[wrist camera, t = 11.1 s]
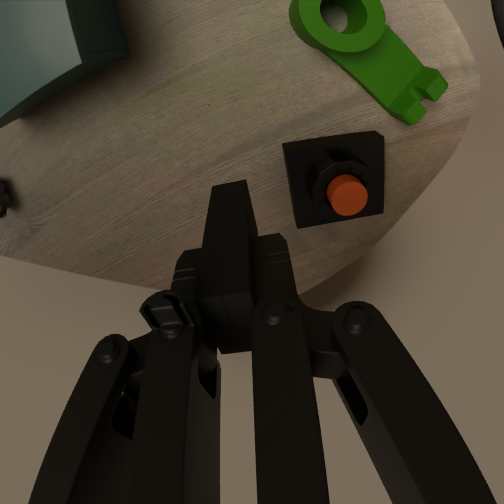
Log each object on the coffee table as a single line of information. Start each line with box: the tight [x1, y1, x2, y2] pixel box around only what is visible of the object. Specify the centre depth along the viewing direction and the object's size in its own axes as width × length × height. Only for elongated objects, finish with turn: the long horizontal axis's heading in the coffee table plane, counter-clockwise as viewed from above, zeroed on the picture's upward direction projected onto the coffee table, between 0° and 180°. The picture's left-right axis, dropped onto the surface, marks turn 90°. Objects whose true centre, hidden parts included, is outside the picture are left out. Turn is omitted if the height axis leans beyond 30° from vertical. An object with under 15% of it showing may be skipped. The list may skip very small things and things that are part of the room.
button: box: [327, 174, 368, 216], centre depth 26 cm, size 4×4×2 cm
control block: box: [282, 131, 385, 229], centre depth 28 cm, size 10×9×4 cm
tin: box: [0, 0, 130, 128], centre depth 14 cm, size 16×13×9 cm
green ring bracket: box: [289, 0, 448, 125], centre depth 19 cm, size 15×7×5 cm, turn 54°
